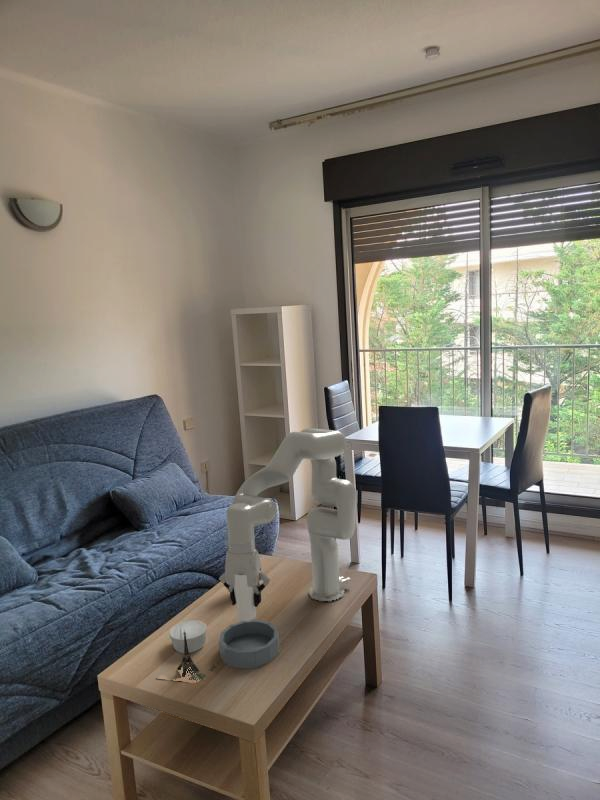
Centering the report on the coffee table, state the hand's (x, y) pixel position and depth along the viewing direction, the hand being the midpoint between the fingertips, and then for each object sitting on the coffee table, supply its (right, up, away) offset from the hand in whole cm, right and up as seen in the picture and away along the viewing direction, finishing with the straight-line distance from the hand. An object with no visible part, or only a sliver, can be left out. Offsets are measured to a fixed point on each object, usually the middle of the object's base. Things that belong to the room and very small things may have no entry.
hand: (246, 603), depth 171 cm
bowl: (+1, -15, +2) cm, 15 cm away
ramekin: (-18, -16, +7) cm, 25 cm away
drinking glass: (0, -5, +1) cm, 5 cm away
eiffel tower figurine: (-16, -18, -6) cm, 25 cm away
